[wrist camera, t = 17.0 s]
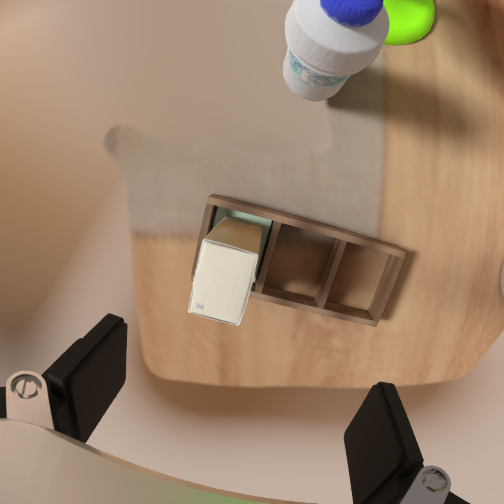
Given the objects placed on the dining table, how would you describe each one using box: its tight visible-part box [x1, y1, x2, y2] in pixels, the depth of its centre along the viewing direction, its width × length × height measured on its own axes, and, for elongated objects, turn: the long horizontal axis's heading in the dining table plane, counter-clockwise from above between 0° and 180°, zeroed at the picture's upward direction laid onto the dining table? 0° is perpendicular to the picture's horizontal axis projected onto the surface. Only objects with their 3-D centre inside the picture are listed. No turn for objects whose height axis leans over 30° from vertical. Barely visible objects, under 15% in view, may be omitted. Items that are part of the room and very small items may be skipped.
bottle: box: [283, 0, 389, 101], centre depth 20 cm, size 7×7×20 cm
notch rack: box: [190, 194, 406, 327], centre depth 34 cm, size 22×9×2 cm, turn 75°
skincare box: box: [188, 215, 263, 325], centre depth 29 cm, size 6×4×12 cm
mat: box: [212, 206, 272, 282], centre depth 35 cm, size 6×7×1 cm
